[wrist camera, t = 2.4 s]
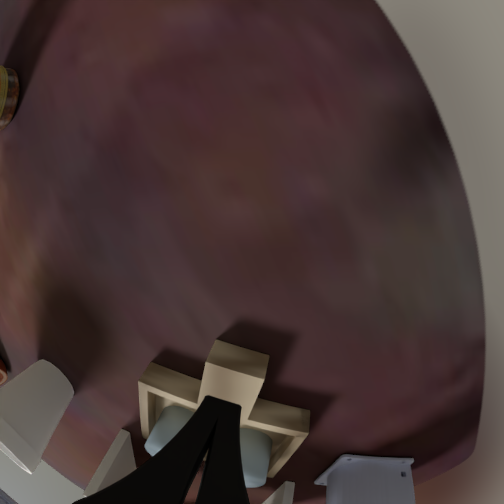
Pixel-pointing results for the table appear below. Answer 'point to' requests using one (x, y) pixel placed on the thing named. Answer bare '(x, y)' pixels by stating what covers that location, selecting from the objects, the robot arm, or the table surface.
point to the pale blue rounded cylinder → (255, 456)
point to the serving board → (226, 398)
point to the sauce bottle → (8, 95)
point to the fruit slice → (2, 372)
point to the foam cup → (32, 412)
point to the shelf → (123, 463)
